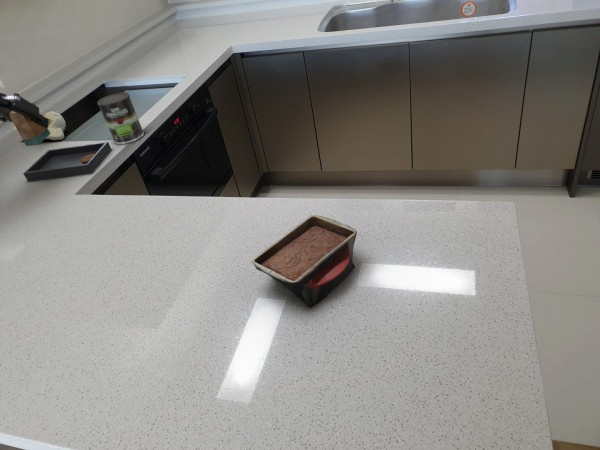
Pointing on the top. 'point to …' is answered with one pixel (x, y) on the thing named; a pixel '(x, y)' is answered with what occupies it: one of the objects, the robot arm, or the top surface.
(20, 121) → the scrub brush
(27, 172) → the pan
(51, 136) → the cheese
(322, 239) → the baking dish
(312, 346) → the top surface
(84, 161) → the grease smear
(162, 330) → the top surface
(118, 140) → the coffee can
